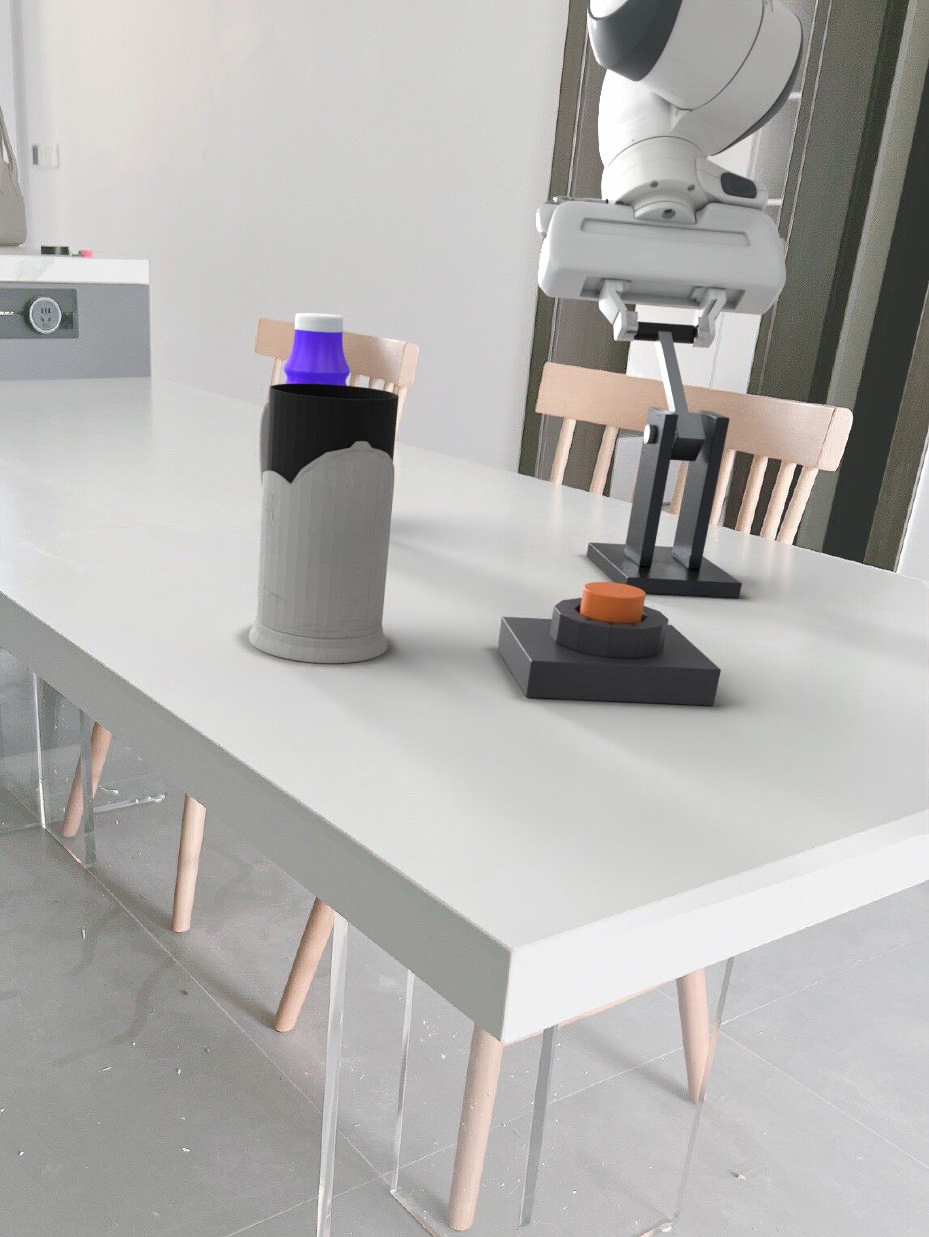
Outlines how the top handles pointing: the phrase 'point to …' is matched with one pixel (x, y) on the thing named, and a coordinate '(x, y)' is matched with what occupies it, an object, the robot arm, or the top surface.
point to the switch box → (606, 659)
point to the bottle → (317, 351)
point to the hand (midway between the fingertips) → (665, 339)
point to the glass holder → (324, 521)
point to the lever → (675, 385)
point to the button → (612, 602)
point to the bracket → (684, 561)
